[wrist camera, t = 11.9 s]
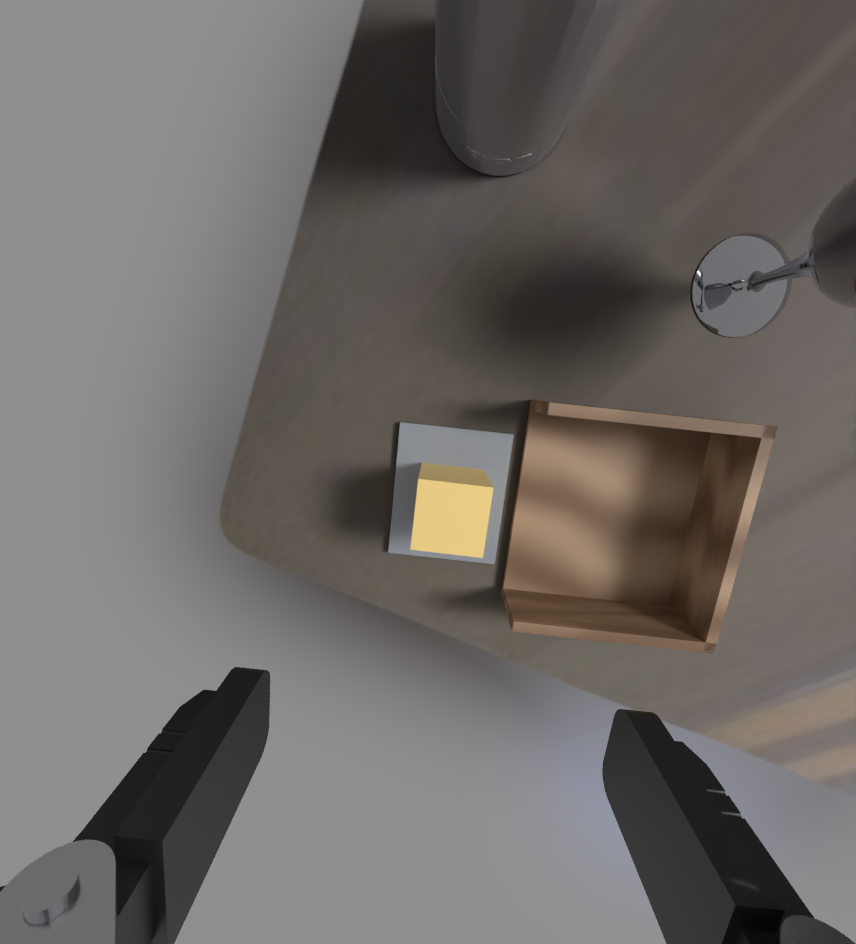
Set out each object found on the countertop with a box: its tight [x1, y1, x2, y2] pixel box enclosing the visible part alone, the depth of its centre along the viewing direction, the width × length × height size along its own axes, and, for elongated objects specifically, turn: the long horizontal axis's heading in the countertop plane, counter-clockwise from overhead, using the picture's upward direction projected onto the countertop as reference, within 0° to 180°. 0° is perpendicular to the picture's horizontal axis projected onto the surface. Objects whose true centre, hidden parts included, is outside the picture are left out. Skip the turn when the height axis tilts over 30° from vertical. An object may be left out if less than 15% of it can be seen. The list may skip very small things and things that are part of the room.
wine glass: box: [692, 176, 856, 338], centre depth 23 cm, size 8×8×15 cm
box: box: [501, 400, 777, 653], centre depth 31 cm, size 17×15×6 cm
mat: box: [388, 422, 514, 564], centre depth 34 cm, size 11×9×1 cm
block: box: [410, 463, 494, 558], centre depth 30 cm, size 5×5×6 cm
